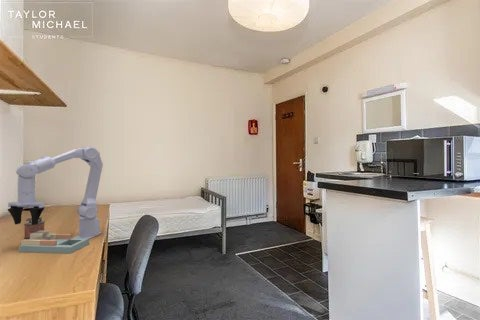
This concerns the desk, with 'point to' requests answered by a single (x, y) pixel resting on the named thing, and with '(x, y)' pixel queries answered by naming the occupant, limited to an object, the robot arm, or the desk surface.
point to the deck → (54, 244)
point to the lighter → (33, 227)
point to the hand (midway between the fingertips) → (26, 224)
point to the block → (40, 235)
